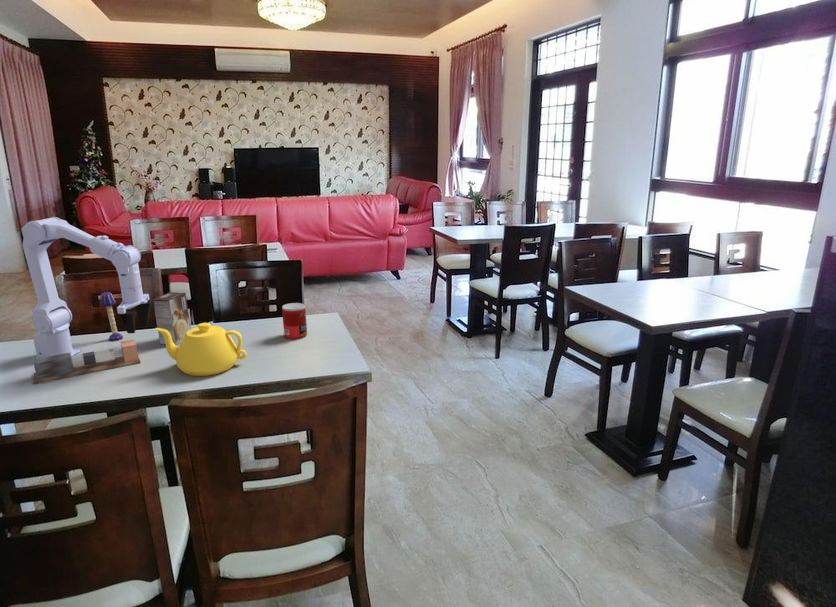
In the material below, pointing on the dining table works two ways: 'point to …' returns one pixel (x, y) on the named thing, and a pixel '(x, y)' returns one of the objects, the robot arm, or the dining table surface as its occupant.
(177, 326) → the coffee box
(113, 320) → the toy lamp
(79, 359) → the grey banded bar
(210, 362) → the teapot
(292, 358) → the dining table surface
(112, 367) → the brown wooden bar
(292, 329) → the canned food
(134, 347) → the peach-orange block
